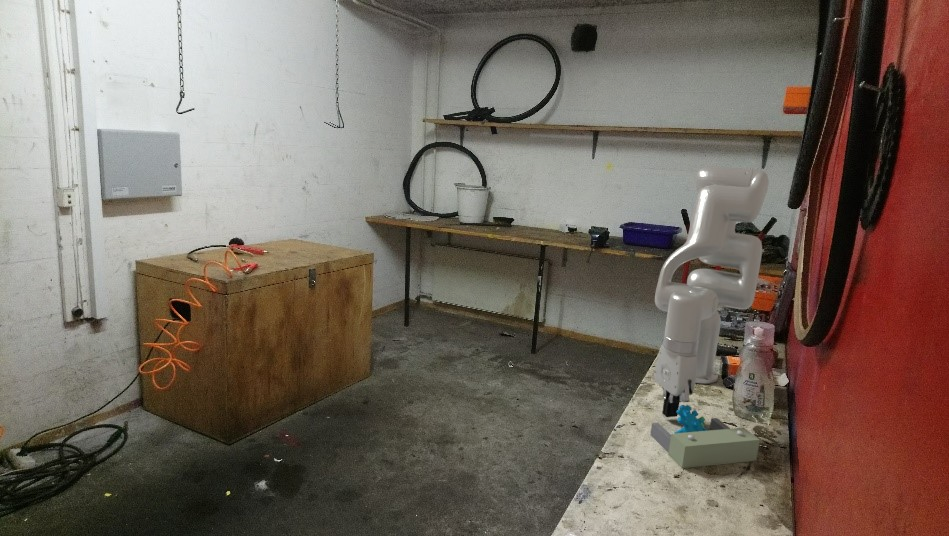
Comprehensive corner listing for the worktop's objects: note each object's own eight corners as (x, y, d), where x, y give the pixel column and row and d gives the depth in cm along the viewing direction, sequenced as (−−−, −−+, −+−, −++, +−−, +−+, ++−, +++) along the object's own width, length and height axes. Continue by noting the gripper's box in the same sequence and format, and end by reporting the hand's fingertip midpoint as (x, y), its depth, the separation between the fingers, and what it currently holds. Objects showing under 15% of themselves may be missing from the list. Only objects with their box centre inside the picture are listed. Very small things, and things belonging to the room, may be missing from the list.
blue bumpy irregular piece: (700, 450, 117) (675, 407, 121) (677, 460, 121) (654, 417, 125) (720, 439, 125) (696, 399, 129) (698, 449, 129) (675, 409, 132)
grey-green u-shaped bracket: (648, 435, 126) (651, 412, 124) (716, 429, 130) (720, 407, 129) (681, 468, 113) (685, 443, 112) (755, 460, 118) (760, 437, 116)
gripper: (648, 333, 135) (639, 401, 139) (685, 357, 121) (674, 432, 125) (675, 332, 137) (665, 399, 141) (714, 356, 123) (702, 429, 127)
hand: (669, 415), depth 133 cm, fingers closed
